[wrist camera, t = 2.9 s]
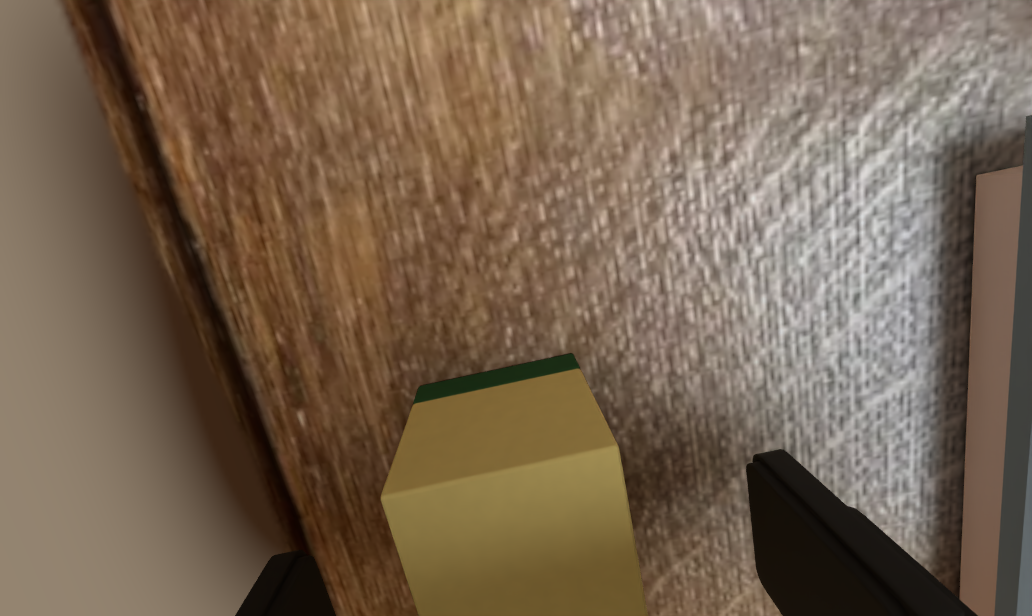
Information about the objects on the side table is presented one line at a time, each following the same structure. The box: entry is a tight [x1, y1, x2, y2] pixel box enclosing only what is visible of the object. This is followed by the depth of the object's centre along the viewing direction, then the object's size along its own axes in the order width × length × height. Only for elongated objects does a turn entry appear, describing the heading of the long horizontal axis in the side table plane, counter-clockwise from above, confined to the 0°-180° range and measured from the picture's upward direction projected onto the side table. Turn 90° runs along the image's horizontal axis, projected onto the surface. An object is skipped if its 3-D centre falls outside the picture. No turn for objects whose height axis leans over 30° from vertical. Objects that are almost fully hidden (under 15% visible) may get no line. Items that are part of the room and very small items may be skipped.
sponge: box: [380, 354, 648, 616], centre depth 11 cm, size 6×4×4 cm, turn 12°
